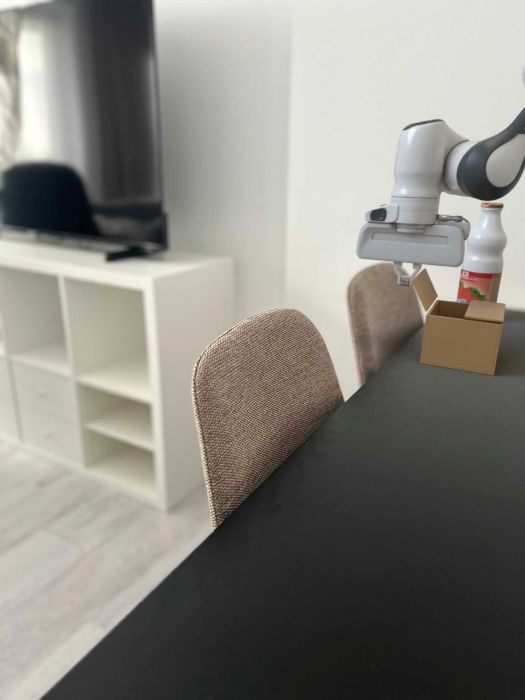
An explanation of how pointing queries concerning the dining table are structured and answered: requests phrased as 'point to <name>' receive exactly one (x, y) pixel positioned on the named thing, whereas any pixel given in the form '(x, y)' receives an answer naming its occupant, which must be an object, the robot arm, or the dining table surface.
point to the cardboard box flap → (425, 289)
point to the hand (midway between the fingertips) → (405, 285)
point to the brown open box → (463, 335)
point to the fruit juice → (483, 257)
